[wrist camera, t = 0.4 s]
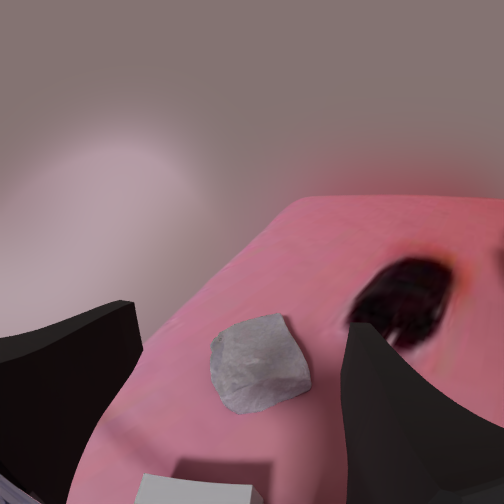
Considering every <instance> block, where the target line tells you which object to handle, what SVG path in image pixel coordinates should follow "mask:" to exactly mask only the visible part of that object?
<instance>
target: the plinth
mask: <svg viewBox="0 0 504 504" xmlns="http://www.w3.org/2000/svg"><path fill="white" fill-rule="evenodd" d="M263 501H264V499H263V498H262V497H261V495H260V494H259V493H258V491H257V490H256V489H255V488H254V486H253V485H240V484H222V483H209V482H199V481H190V480H182V479H175V478H169V477H162V476H157V475H151V474H146V473H144V475H143V478H142V481H141V484H140V487H139V490H138V493H137V496H136V499H135V502H134V504H263Z"/></svg>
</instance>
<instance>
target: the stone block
mask: <svg viewBox="0 0 504 504" xmlns="http://www.w3.org/2000/svg"><path fill="white" fill-rule="evenodd" d="M210 347H211V351H212V354H211V358H210V370H211V381H212V383H213V385H214V386H215V389H216V391H217V392H218V394H219V395H220V399H221V401H222V402H223V404H224V405H225V406H226V407H227V408H228V409H230V410H231V411H233V412H235V413H236V414H246V413H254V412H260V411H263V410H265V409H267V408H269V407H271V406H274V405H276V404H277V403H279V402H282V401H284V400H288V399H292V398H294V397H295V396H297V395H299V394H301V393H304V392H307V391H309V390H310V388H311V385H312V383H311V380H310V379H311V377H310V371H309V369H308V365H307V362H306V360H305V358H304V356H303V354H302V352H301V350H300V348H299V346H298V345H297V343H296V341H295V340H294V338H293V337H292V336H291V334H290V332H289V331H288V328H287V326H286V324H285V322H284V319H283V317H282V315H281V314H280V313H276V314H272V315H266V316H261V317H258V318H254V319H249V320H247V321H243V322H240V323H237V324H234V325H233V326H231V327H229V328H227V329H226V330H224V331H222V332H220V333H219V335H218V336H217V337H216V338H214V339H213V341H212V343H211V345H210Z"/></svg>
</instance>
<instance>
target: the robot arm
mask: <svg viewBox="0 0 504 504" xmlns="http://www.w3.org/2000/svg"><path fill="white" fill-rule="evenodd" d="M142 352H143V346H142V341H141V336H140V332H139V327H138V321H137V316H136V310H135V304H134V302H130V301H122V300H118V301H114V302H111V303H108V304H105V305H102V306H99V307H97V308H94V309H92V310H89V311H87V312H84V313H81V314H79V315H76V316H74V317H71V318H69V319H66V320H63V321H61V322H58V323H55V324H52V325H50V326H47V327H44V328H41V329H38V330H34V331H31V332H27V333H23V334H19V335H15V336H9V337H4V338H0V504H40V503H41V504H66V501H67V498H68V494H69V490H70V487H71V483H72V480H73V477H74V474H75V472H76V469H77V466H78V463H79V461H80V459H81V456H82V454H83V452H84V449H85V447H86V445H87V443H88V441H89V439H90V437H91V435H92V433H93V431H94V429H95V427H96V425H97V423H98V421H99V420H100V418H101V416H102V415H103V413H104V412H105V410H106V409H107V408H108V406H109V405H110V403H111V402H112V401H113V399H114V398H115V396H116V395H117V393H118V392H119V391H120V389H121V388H122V386H123V385H124V383H125V382H126V381H127V379H128V378H129V376H130V375H131V373H132V372H133V370H134V368H135V366H136V364H137V362H138V360H139V358H140V356H141V354H142ZM341 405H342V413H343V422H344V430H345V438H346V447H347V457H348V484H347V501H346V504H504V428H502V427H500V426H498V425H496V424H493V423H491V422H489V421H487V420H485V419H483V418H481V417H479V416H477V415H476V414H474V413H472V412H471V411H469V410H467V409H466V408H464V407H462V406H461V405H459V404H457V403H456V402H454V401H453V400H451V399H450V398H449V397H447V396H446V395H444V394H443V393H442V392H440V391H439V390H438V389H436V388H435V387H434V386H433V385H431V384H430V383H429V382H428V381H426V380H425V379H424V378H423V377H422V376H421V375H420V374H419V373H417V372H416V371H415V370H414V369H413V368H412V367H411V366H410V365H409V364H408V363H407V362H406V361H405V360H404V359H403V358H402V357H401V356H400V355H399V354H398V353H397V352H396V351H395V350H394V349H393V348H392V347H391V346H390V345H389V344H388V343H387V341H386V340H385V339H384V338H383V337H382V336H381V335H380V334H379V333H378V332H377V331H376V329H375V328H374V327H373V326H372V325H371V324H370V323H350V328H349V334H348V339H347V344H346V349H345V354H344V359H343V364H342V369H341ZM20 489H21V490H22V491H21V490H20ZM24 492H25V493H26V494H25V493H24ZM27 494H28V495H29V496H28V495H27ZM30 496H31V497H32V498H31V497H30ZM33 498H34V499H35V500H37V501H38V502H40V503H38V502H37V501H35V500H34V499H33Z"/></svg>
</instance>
